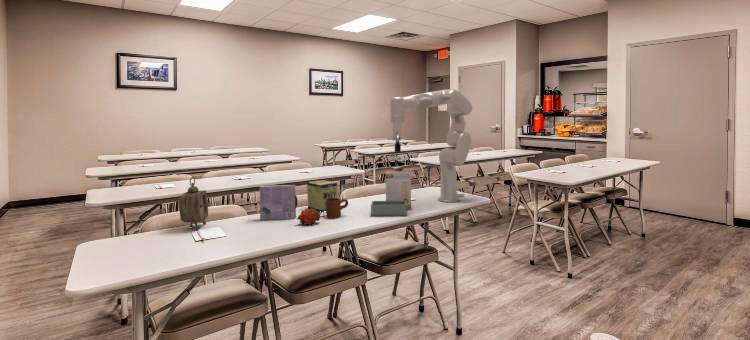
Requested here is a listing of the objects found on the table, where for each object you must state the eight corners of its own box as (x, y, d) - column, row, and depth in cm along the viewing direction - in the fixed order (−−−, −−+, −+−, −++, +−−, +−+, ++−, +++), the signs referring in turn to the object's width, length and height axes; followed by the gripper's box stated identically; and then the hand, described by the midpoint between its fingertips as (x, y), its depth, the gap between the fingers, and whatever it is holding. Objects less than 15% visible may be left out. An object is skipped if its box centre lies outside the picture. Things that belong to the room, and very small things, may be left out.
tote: (406, 211, 237) (406, 200, 236) (406, 216, 226) (406, 205, 225) (372, 211, 238) (372, 200, 237) (371, 216, 227) (370, 205, 226)
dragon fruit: (323, 225, 217) (299, 232, 213) (318, 213, 222) (295, 219, 218) (323, 215, 211) (299, 221, 207) (318, 202, 216) (294, 208, 212)
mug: (346, 213, 234) (346, 196, 233) (350, 217, 227) (350, 199, 226) (324, 216, 230) (324, 198, 229) (328, 219, 223) (327, 201, 222)
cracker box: (411, 207, 247) (411, 170, 244) (411, 209, 241) (410, 172, 238) (386, 207, 248) (386, 171, 245) (385, 209, 242) (385, 172, 239)
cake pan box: (298, 216, 231) (296, 183, 228) (298, 218, 226) (296, 185, 223) (261, 218, 227) (259, 185, 225) (260, 221, 223) (258, 187, 220)
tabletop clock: (200, 231, 205) (196, 179, 202) (180, 232, 205) (176, 179, 201) (209, 223, 220) (205, 174, 216) (190, 224, 219) (186, 175, 215)
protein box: (323, 213, 237) (322, 185, 235) (307, 208, 249) (306, 181, 246) (338, 210, 244) (337, 182, 242) (322, 205, 255) (321, 179, 253)
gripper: (391, 119, 246) (391, 149, 249) (390, 120, 229) (390, 152, 232) (404, 119, 246) (404, 149, 248) (404, 120, 229) (404, 152, 231)
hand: (397, 151), depth 240 cm, fingers open, 9 cm apart
